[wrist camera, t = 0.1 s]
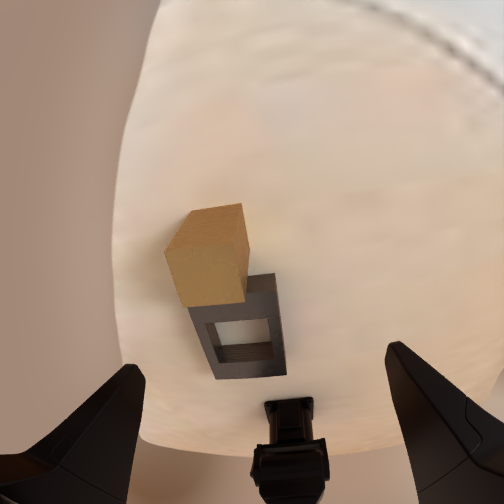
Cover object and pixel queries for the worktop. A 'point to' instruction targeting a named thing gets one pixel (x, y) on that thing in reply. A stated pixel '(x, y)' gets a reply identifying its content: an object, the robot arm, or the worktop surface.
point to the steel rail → (244, 355)
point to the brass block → (210, 257)
